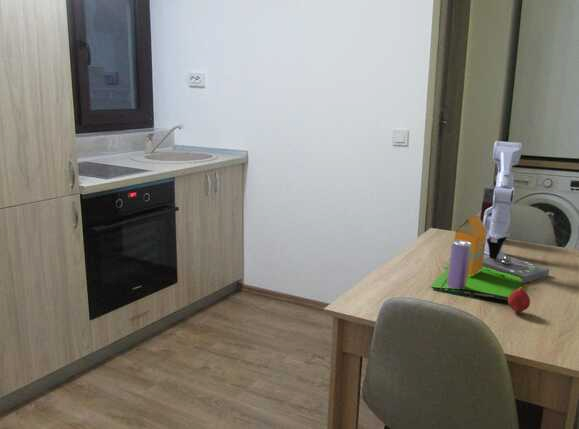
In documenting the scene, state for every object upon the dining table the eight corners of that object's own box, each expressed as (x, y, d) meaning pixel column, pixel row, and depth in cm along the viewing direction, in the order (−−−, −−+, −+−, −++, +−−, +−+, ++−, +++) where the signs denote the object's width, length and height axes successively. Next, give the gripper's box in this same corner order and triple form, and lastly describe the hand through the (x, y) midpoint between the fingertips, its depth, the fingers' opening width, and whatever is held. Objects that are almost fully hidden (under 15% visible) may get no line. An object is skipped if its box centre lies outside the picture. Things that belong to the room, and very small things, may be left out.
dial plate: (474, 266, 192) (475, 259, 192) (500, 260, 202) (501, 253, 201) (522, 283, 177) (524, 276, 177) (548, 275, 187) (549, 268, 186)
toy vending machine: (504, 244, 223) (514, 179, 217) (476, 239, 228) (486, 175, 222) (506, 239, 231) (516, 176, 225) (479, 235, 236) (488, 173, 229)
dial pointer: (489, 260, 192) (491, 248, 191) (493, 257, 194) (495, 246, 193) (528, 270, 183) (530, 258, 182) (532, 267, 186) (534, 256, 185)
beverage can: (455, 291, 167) (462, 246, 163) (442, 284, 172) (448, 240, 168) (469, 289, 169) (476, 244, 166) (456, 282, 175) (462, 239, 171)
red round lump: (502, 308, 155) (506, 282, 153) (521, 308, 156) (525, 283, 154) (512, 316, 150) (516, 290, 148) (531, 317, 150) (536, 291, 148)
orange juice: (481, 272, 187) (489, 217, 182) (470, 277, 180) (479, 220, 176) (460, 266, 192) (468, 212, 187) (449, 271, 185) (457, 216, 181)
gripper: (508, 226, 180) (502, 264, 183) (514, 218, 192) (508, 254, 196) (487, 223, 183) (481, 260, 187) (493, 215, 196) (488, 250, 199)
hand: (493, 257), depth 191 cm, fingers open, 3 cm apart
